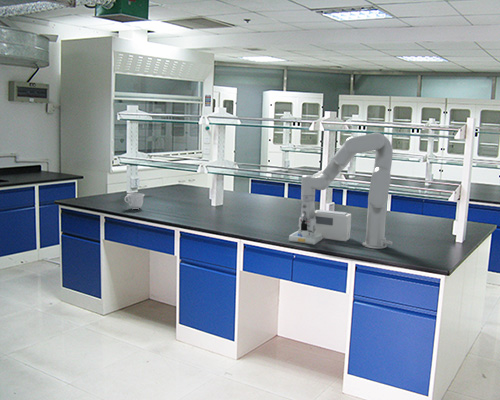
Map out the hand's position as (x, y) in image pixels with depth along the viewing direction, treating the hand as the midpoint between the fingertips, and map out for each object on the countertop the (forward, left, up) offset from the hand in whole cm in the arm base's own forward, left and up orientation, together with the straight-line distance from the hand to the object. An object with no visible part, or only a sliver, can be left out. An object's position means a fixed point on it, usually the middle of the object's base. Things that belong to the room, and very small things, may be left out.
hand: (307, 228), depth 285 cm
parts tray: (0, 0, -6) cm, 6 cm away
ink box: (0, 0, -6) cm, 6 cm away
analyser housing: (-10, -13, -6) cm, 17 cm away
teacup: (+132, -17, -7) cm, 134 cm away
